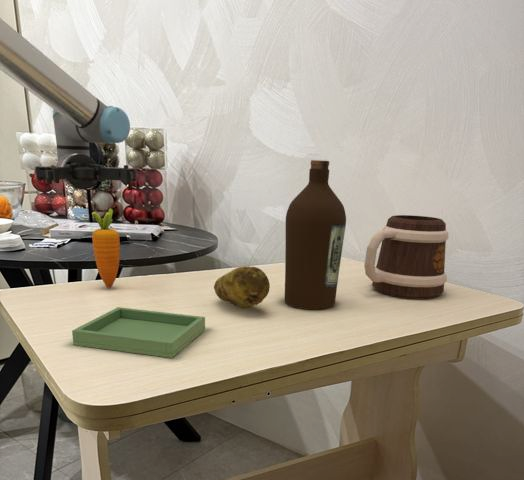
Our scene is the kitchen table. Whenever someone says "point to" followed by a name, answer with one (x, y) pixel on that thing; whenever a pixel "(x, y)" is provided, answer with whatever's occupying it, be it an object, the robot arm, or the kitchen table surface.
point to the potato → (243, 286)
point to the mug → (408, 257)
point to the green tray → (140, 331)
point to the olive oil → (314, 243)
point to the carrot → (106, 249)
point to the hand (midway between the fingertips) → (93, 176)
